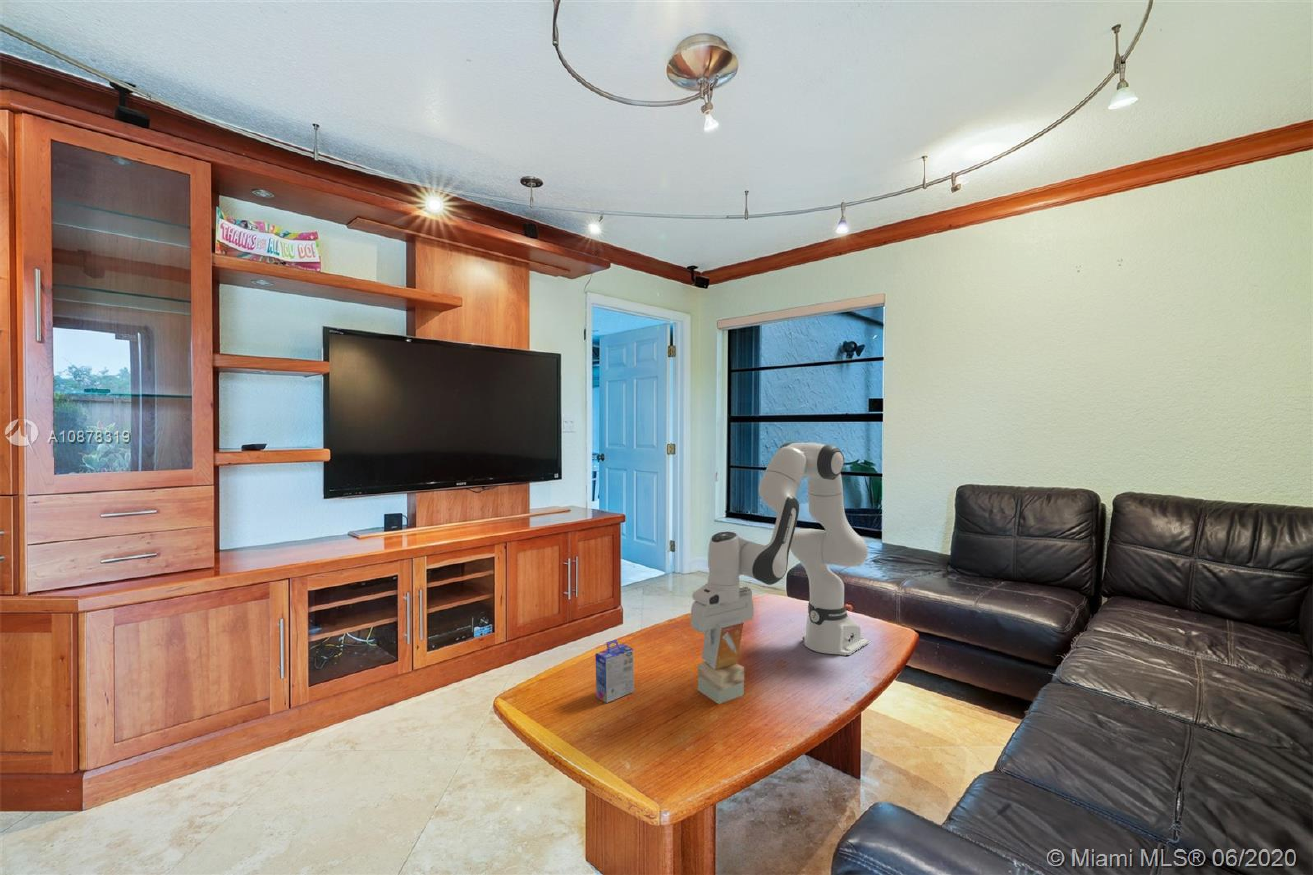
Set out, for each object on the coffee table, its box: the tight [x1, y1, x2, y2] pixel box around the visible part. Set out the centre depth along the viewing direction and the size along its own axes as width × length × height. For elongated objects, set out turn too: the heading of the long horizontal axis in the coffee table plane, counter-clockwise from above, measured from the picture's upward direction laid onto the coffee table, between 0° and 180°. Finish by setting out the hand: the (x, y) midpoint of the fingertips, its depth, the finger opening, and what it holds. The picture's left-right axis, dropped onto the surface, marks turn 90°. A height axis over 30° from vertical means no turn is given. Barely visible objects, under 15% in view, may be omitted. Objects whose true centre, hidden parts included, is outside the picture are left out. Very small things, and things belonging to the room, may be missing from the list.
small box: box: [701, 618, 745, 670], centre depth 153 cm, size 8×6×13 cm
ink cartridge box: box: [594, 639, 635, 704], centre depth 151 cm, size 10×6×14 cm, turn 132°
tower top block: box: [697, 661, 745, 691], centre depth 153 cm, size 9×9×4 cm
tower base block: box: [697, 678, 745, 705], centre depth 153 cm, size 9×9×4 cm
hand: (723, 640), depth 153 cm, fingers closed on small box, 8 cm apart
